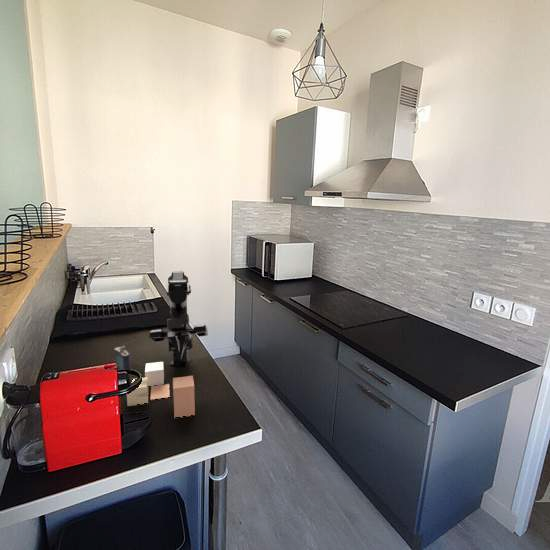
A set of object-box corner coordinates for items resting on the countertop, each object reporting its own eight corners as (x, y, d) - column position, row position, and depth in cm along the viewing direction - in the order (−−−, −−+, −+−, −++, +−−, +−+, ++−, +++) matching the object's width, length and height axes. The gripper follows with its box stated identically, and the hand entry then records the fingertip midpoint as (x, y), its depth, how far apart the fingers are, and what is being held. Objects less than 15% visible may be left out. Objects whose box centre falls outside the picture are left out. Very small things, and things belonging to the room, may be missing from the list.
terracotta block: (174, 406, 105) (172, 378, 103) (193, 403, 107) (192, 375, 104) (174, 418, 99) (173, 388, 97) (194, 415, 101) (194, 385, 99)
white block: (146, 378, 121) (145, 363, 119) (164, 376, 122) (163, 361, 121) (145, 387, 115) (144, 371, 114) (163, 385, 117) (163, 369, 116)
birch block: (129, 395, 110) (128, 379, 109) (148, 393, 112) (147, 377, 110) (127, 406, 104) (126, 389, 103) (147, 403, 106) (146, 386, 105)
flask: (114, 369, 125) (112, 343, 123) (122, 367, 128) (120, 341, 125) (125, 379, 120) (123, 352, 117) (133, 376, 122) (131, 349, 119)
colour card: (151, 387, 115) (151, 386, 115) (169, 384, 117) (169, 383, 117) (150, 400, 108) (150, 399, 108) (169, 397, 110) (169, 396, 109)
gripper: (144, 309, 108) (143, 357, 102) (202, 303, 110) (205, 350, 104) (153, 319, 118) (153, 363, 112) (206, 313, 120) (209, 356, 114)
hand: (179, 358), depth 110 cm, fingers closed
